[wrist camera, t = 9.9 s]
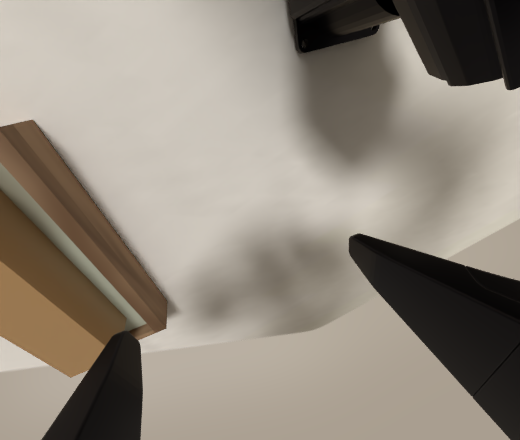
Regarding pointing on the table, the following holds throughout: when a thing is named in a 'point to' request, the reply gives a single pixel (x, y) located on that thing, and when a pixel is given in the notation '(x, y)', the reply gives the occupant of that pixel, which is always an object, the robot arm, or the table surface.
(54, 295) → the tan rectangular block
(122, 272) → the brown picture frame
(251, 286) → the table surface
